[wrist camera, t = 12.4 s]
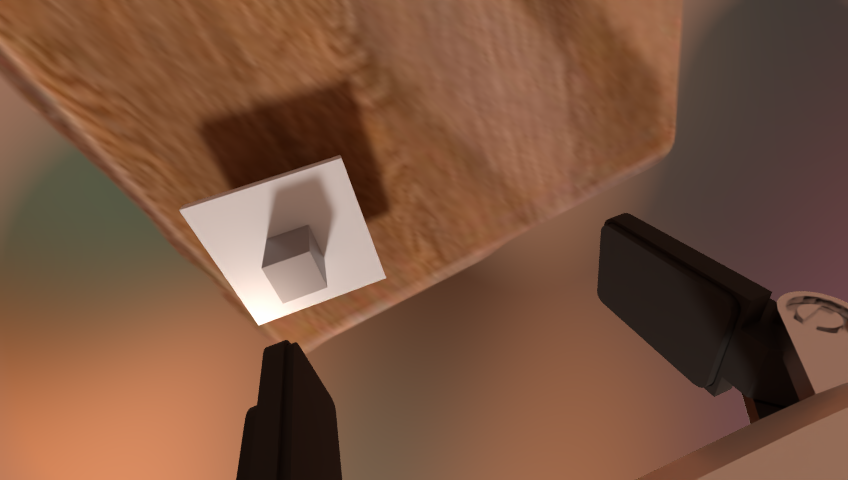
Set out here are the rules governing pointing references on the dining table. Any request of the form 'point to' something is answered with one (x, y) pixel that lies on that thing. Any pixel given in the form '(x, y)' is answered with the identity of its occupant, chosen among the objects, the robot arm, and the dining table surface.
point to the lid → (288, 239)
